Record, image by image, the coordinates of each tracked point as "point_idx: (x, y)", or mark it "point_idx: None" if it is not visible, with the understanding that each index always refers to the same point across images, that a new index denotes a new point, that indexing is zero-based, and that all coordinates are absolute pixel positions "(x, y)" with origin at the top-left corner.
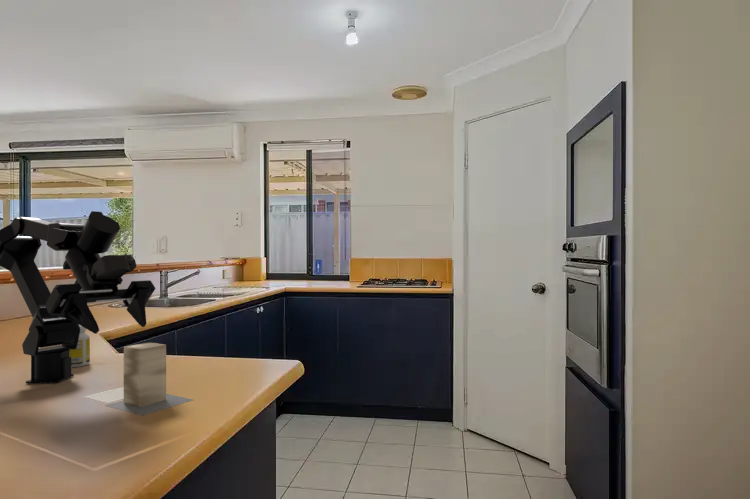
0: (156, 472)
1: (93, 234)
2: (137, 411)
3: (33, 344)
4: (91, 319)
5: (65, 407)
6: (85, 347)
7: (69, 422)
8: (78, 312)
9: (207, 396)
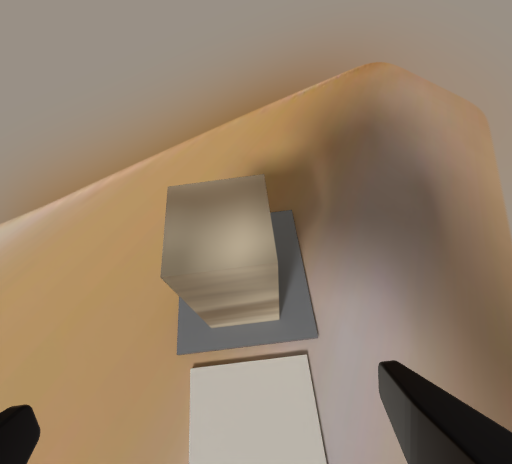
0: (354, 72)
1: None
2: (287, 237)
3: None
4: (480, 427)
5: None
6: None
7: (405, 287)
8: None
9: (145, 235)
